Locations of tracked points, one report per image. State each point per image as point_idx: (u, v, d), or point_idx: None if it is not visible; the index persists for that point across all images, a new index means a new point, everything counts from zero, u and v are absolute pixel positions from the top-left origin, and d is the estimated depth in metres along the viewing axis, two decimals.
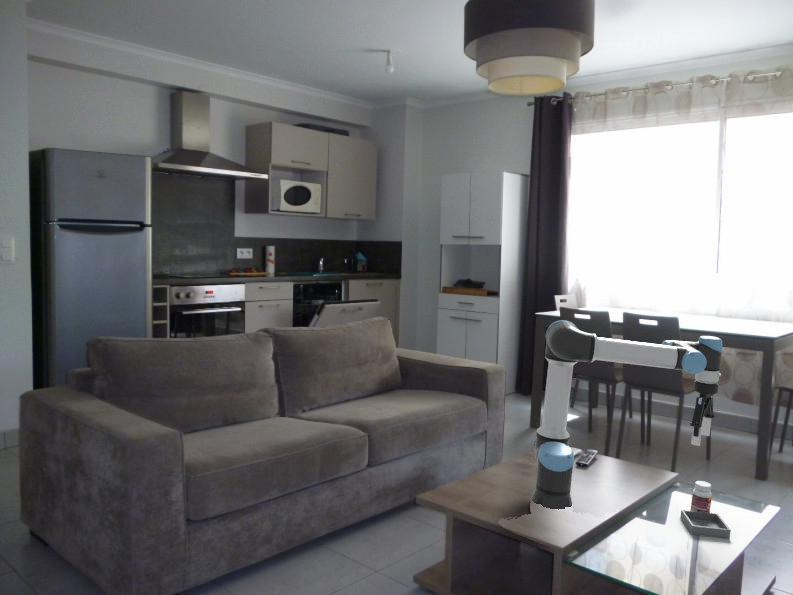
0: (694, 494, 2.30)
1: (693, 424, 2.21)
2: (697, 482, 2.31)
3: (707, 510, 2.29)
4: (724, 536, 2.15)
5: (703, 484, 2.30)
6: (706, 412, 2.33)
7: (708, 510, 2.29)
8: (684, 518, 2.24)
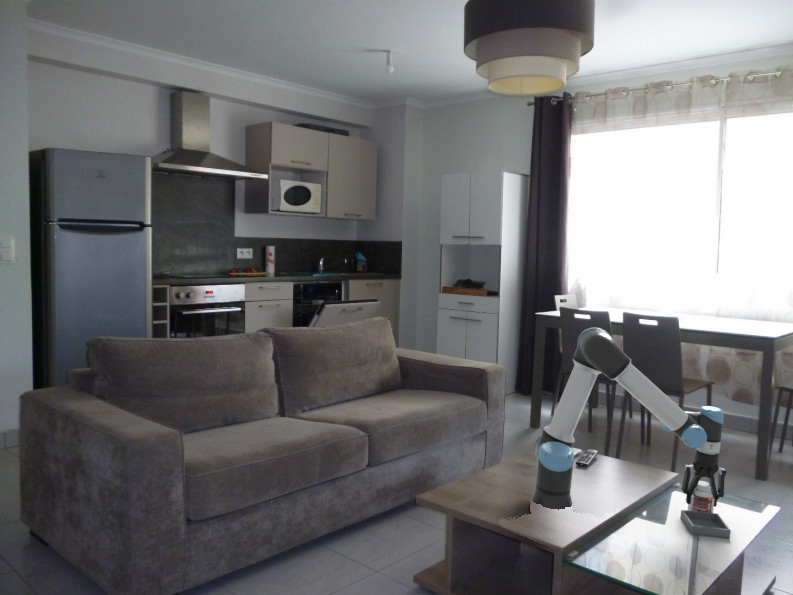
0: (694, 494, 2.30)
1: (682, 490, 2.32)
2: None
3: (707, 510, 2.29)
4: (724, 536, 2.15)
5: (703, 484, 2.30)
6: (711, 489, 2.30)
7: (708, 510, 2.29)
8: (684, 518, 2.24)
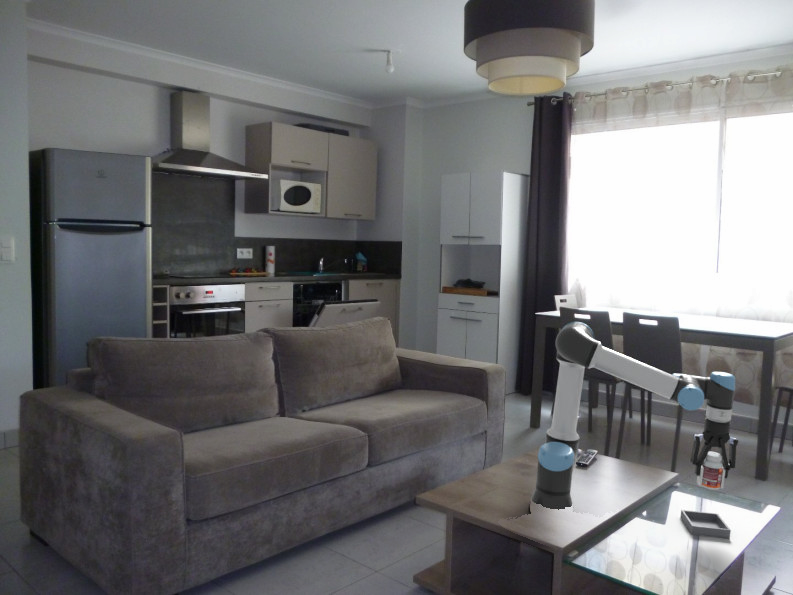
0: (704, 465, 2.18)
1: (691, 461, 2.19)
2: None
3: (718, 482, 2.16)
4: (724, 536, 2.15)
5: (713, 454, 2.17)
6: (722, 459, 2.18)
7: (719, 482, 2.16)
8: (684, 518, 2.24)
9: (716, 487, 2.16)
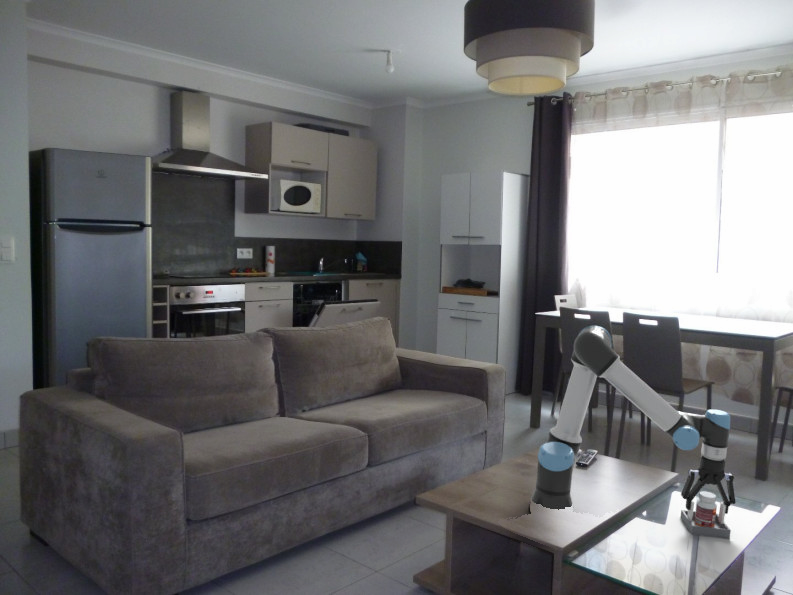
0: (698, 505, 2.20)
1: (681, 495, 2.21)
2: (701, 493, 2.21)
3: (712, 522, 2.18)
4: (724, 536, 2.15)
5: (708, 495, 2.19)
6: (721, 496, 2.19)
7: (713, 522, 2.18)
8: (684, 518, 2.24)
9: None
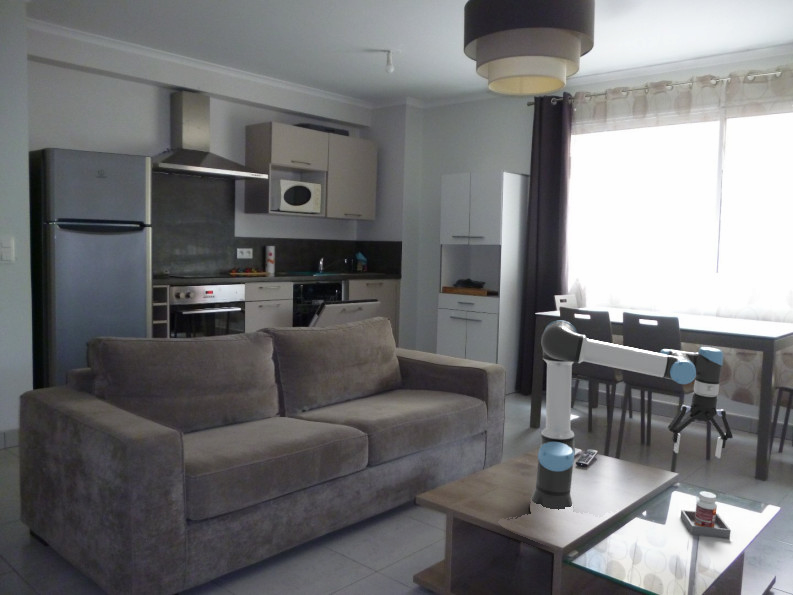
0: (698, 505, 2.20)
1: (668, 427, 2.24)
2: (701, 493, 2.21)
3: (712, 522, 2.18)
4: (724, 536, 2.15)
5: (708, 495, 2.19)
6: (717, 431, 2.21)
7: (713, 522, 2.18)
8: (684, 518, 2.24)
9: None
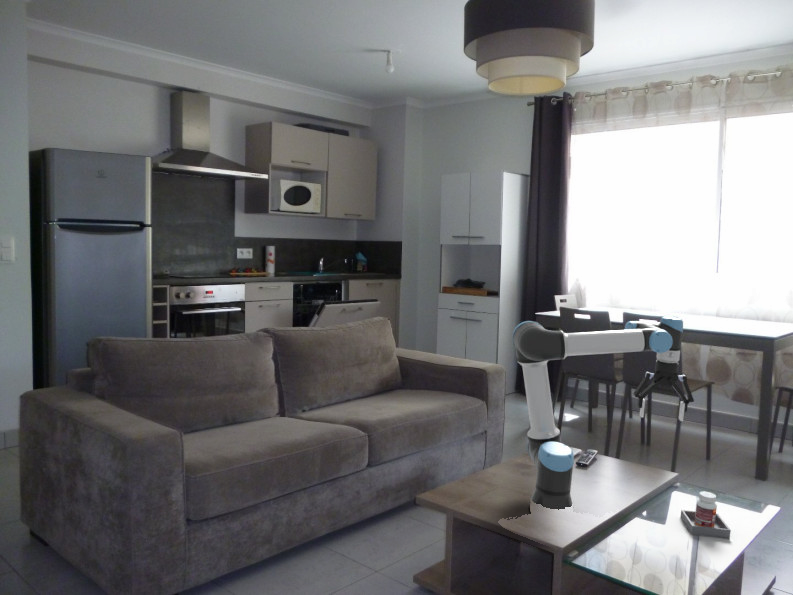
0: (698, 505, 2.19)
1: (634, 394, 2.36)
2: (701, 493, 2.21)
3: (712, 522, 2.18)
4: (724, 536, 2.15)
5: (708, 495, 2.19)
6: (680, 396, 2.34)
7: (713, 522, 2.18)
8: (684, 518, 2.24)
9: None
